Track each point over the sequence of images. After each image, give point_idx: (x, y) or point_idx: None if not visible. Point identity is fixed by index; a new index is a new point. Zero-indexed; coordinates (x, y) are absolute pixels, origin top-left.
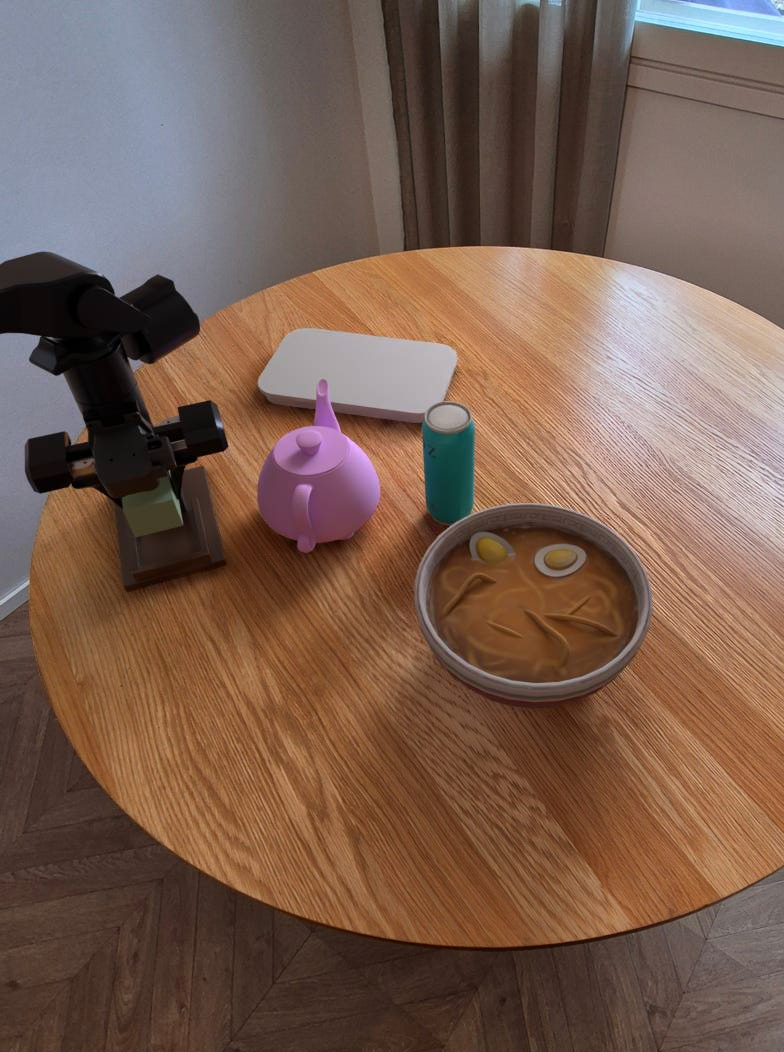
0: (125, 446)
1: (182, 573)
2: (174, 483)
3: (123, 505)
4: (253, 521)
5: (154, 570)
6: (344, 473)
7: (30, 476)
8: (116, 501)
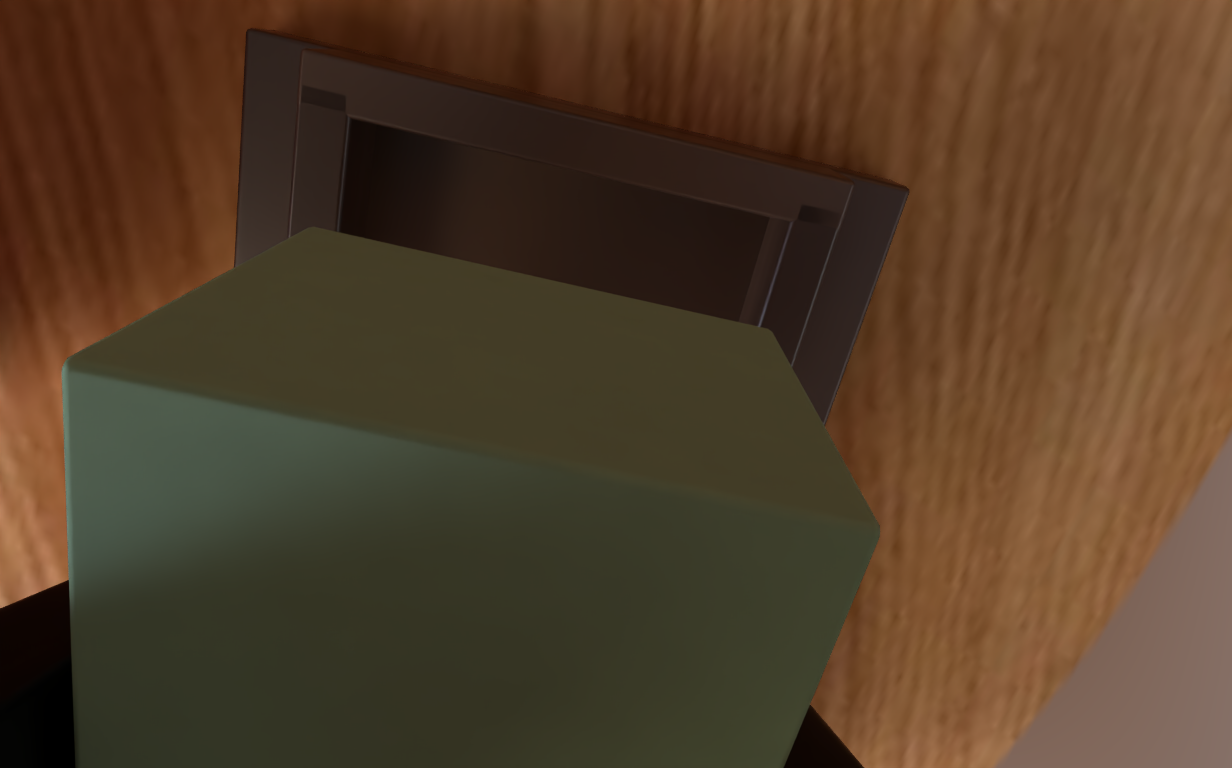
0: None
1: (549, 98)
2: (10, 674)
3: (823, 643)
4: (36, 301)
5: (708, 146)
6: None
7: None
8: (832, 760)
